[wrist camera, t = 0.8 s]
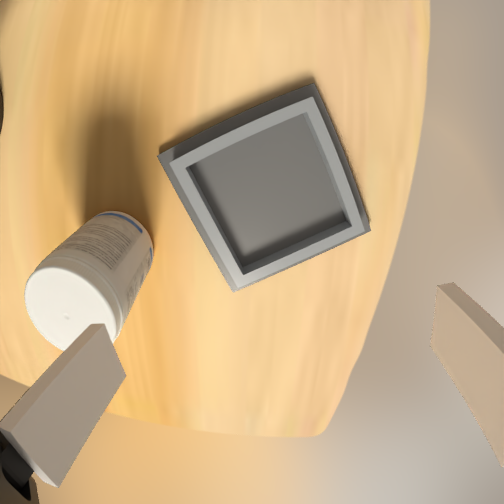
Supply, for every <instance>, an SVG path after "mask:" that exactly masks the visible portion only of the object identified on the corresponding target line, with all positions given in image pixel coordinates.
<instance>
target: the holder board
mask: <svg viewBox="0 0 504 504" xmlns="http://www.w3.org/2000/svg"><path fill="white" fill-rule="evenodd" d="M157 157H158V159H159V161H160V163H161V165H162V166H163V168H164V170H165V172H166V174H167V176H168V178H169V180H170V181H171V183H172V185H173V187H174V189H175V191H176V193H177V194H178V196H179V198H180V200H181V202H182V203H183V205H184V207H185V209H186V211H187V213H188V214H189V216H190V218H191V220H192V222H193V223H194V225H195V227H196V229H197V231H198V232H199V234H200V236H201V238H202V239H203V241H204V243H205V245H206V247H207V248H208V250H209V252H210V254H211V255H212V257H213V259H214V261H215V262H216V264H217V266H218V268H219V269H220V271H221V273H222V275H223V276H224V278H225V280H226V281H227V283H228V285H229V287H230V288H231V290H232V292H235V291H238V290H240V289H242V288H245V287H247V286H249V285H252V284H254V283H256V282H259V281H261V280H263V279H265V278H268V277H270V276H272V275H275V274H277V273H279V272H281V271H284V270H286V269H288V268H290V267H293V266H295V265H297V264H299V263H302V262H304V261H306V260H308V259H311V258H313V257H315V256H317V255H319V254H322V253H324V252H326V251H328V250H330V249H333V248H335V247H337V246H339V245H341V244H344V243H346V242H348V241H350V240H352V239H354V238H356V237H359V236H361V235H363V234H365V233H367V232H369V231H371V229H370V225H369V222H368V219H367V216H366V213H365V210H364V207H363V204H362V201H361V198H360V195H359V192H358V189H357V186H356V183H355V181H354V178H353V175H352V172H351V170H350V167H349V164H348V162H347V159H346V156H345V154H344V151H343V149H342V146H341V144H340V141H339V139H338V136H337V134H336V131H335V129H334V126H333V124H332V122H331V119H330V117H329V115H328V112H327V110H326V108H325V106H324V103H323V101H322V99H321V97H320V95H319V92H318V90H317V88H316V86H315V84H314V83H312V84H310V85H307V86H304V87H302V88H299V89H297V90H294V91H291V92H289V93H286V94H284V95H281V96H279V97H276V98H274V99H272V100H269V101H267V102H264V103H262V104H260V105H258V106H255V107H253V108H251V109H248V110H246V111H244V112H242V113H240V114H237V115H235V116H233V117H231V118H229V119H227V120H225V121H223V122H220V123H218V124H216V125H214V126H212V127H210V128H208V129H206V130H204V131H202V132H200V133H198V134H196V135H194V136H193V137H191V138H189V139H187V140H185V141H183V142H181V143H179V144H177V145H176V146H174V147H172V148H170V149H168V150H167V151H165V152H163V153H161V154H159V155H158V156H157Z"/></svg>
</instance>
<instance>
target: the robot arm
mask: <svg viewBox="0 0 504 504" xmlns="http://www.w3.org/2000/svg"><path fill="white" fill-rule="evenodd" d="M2 118H3V102H2V95H1V91H0V132H1V126H2ZM430 347H431V348H432V350H433V351H434V353H435V354H436V356H437V357H438V359H439V360H440V362H441V363H442V365H443V366H444V368H445V369H446V371H447V373H448V374H449V376H450V377H451V379H452V381H453V382H454V384H455V385H456V387H457V388H458V390H459V392H460V393H461V395H462V397H463V398H464V400H465V402H466V403H467V405H468V407H469V408H470V410H471V412H472V413H473V415H474V417H475V419H476V420H477V422H478V424H479V426H480V427H481V429H482V431H483V433H484V435H485V436H486V438H487V440H488V442H489V444H490V446H491V448H492V450H493V451H494V453H495V455H496V457H497V459H498V461H499V463H500V465H501V467H502V468H503V467H504V328H503V327H502V326H501V325H500V324H499V323H498V322H497V321H496V320H495V319H494V318H493V317H492V316H491V315H490V314H489V313H487V312H486V311H485V310H484V309H483V308H482V307H481V306H480V305H479V304H478V303H476V302H475V301H474V300H473V299H472V298H471V297H470V296H469V295H467V294H466V293H465V292H464V291H463V290H462V289H460V288H459V287H458V286H457V285H456V284H455V283H448V284H443V285H438V286H437V293H436V303H435V313H434V322H433V329H432V337H431V343H430ZM125 377H126V374H125V372H124V369H123V367H122V365H121V363H120V360H119V358H118V356H117V353H116V351H115V349H114V346H113V344H112V341H111V339H110V336H109V334H108V331H107V329H106V326H105V323H102V324H90V325H89V326H88V327H87V328H86V329H85V330H84V331H83V332H82V333H81V334H80V335H79V336H78V337H77V338H76V339H75V340H74V341H73V342H72V343H71V345H70V346H69V347H68V348H67V349H66V350H65V351H64V352H63V353H62V354H61V355H60V356H59V357H58V358H57V359H56V360H55V361H54V362H53V363H52V365H51V366H50V367H49V368H48V369H47V370H46V371H45V372H44V373H43V374H42V375H41V376H40V377H39V379H38V380H37V381H36V382H35V383H34V384H33V385H32V386H31V387H30V388H29V389H28V390H27V391H26V392H25V393H24V395H23V396H22V397H21V399H19V400H18V401H17V403H16V404H15V406H13V407H12V408H11V410H10V411H9V412H8V413H7V414H6V415H5V416H4V418H3V419H2V420H1V421H0V504H39V499H38V494H37V487H36V483H35V480H34V479H33V478H32V477H31V475H32V474H33V472H35V473H36V474H37V475H38V476H39V477H40V478H41V479H42V480H43V481H44V482H46V483H48V484H50V485H53V486H55V487H58V488H59V487H60V485H61V483H62V481H63V480H64V478H65V476H66V474H67V473H68V471H69V469H70V467H71V466H72V464H73V462H74V461H75V459H76V457H77V455H78V454H79V452H80V450H81V449H82V447H83V445H84V444H85V442H86V440H87V439H88V437H89V435H90V434H91V432H92V430H93V429H94V427H95V425H96V423H97V422H98V420H99V419H100V417H101V416H102V414H103V412H104V411H105V409H106V407H107V406H108V404H109V403H110V401H111V399H112V398H113V396H114V395H115V393H116V391H117V390H118V388H119V387H120V385H121V383H122V382H123V380H124V379H125Z"/></svg>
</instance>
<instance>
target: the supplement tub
mask: <svg viewBox="0 0 504 504" xmlns="http://www.w3.org/2000/svg"><path fill="white" fill-rule="evenodd" d="M153 253H154V252H153V244H152V241H151V238H150V236H149V234H148V232H147V230H146V229H145V228H144V227H143V225H142V224H141V223H140V222H138V221H137V220H136V219H135V218H133V217H132V216H130V215H128V214H126V213H123V212H119V211H106V212H102V213H100V214H98V215H96V216H94V217H93V218H92V219H90V220H89V221H88V222H86V223H85V224H84V225H83V226H82V227H80V228H79V229H78V230H77V231H76V232H74V233H73V234H72V235H71V236H70V237H69V238H67V239H66V240H65V241H64V242H63V243H62V244H60V245H59V246H58V247H57V248H56V249H55V250H54V251H53V252H51V253H50V254H49V255H48V256H47V257H46V258H45V259H44V260H43V261H42V262H41V263H40V264H39V265H38V266H37V268H36V269H35V271H34V272H33V273H32V274H31V276H30V277H29V279H28V281H27V283H26V287H25V304H26V308H27V311H28V314H29V316H30V318H31V320H32V322H33V324H34V325H35V327H36V328H37V329H38V331H39V332H40V333H41V334H42V335H43V336H44V337H45V338H46V339H47V340H48V341H49V342H50V343H52V344H53V345H54V346H56V347H57V348H59V349H61V350H63V351H65V350H66V349H67V348H68V347H69V346H70V345H71V343H72V342H73V341H74V340H75V339H76V338H77V337H78V336H79V335H80V334H81V333H82V332H83V331H84V330H85V329H86V328H87V327H88V326H89V325H90V324H102V323H105V326H106V329H107V331H108V334H109V336H110V339H111V341H112V344H113V343H114V341H115V339H116V338H117V337H118V335H119V333H120V331H121V329H122V327H123V325H124V323H125V320H126V318H127V316H128V314H129V312H130V309H131V307H132V305H133V303H134V301H135V299H136V296H137V294H138V292H139V290H140V288H141V286H142V284H143V282H144V280H145V278H146V275H147V273H148V271H149V269H150V268H151V265H152V261H153Z"/></svg>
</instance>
